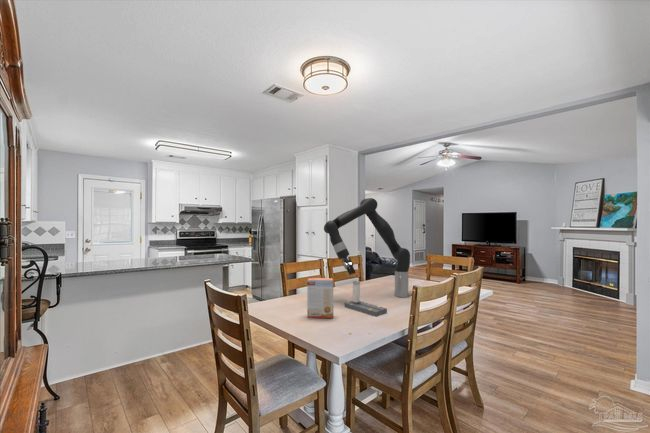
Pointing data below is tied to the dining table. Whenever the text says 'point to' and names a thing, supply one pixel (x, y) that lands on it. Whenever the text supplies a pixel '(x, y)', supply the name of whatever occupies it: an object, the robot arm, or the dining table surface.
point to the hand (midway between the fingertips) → (352, 273)
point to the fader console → (366, 308)
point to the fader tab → (356, 292)
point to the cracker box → (320, 297)
